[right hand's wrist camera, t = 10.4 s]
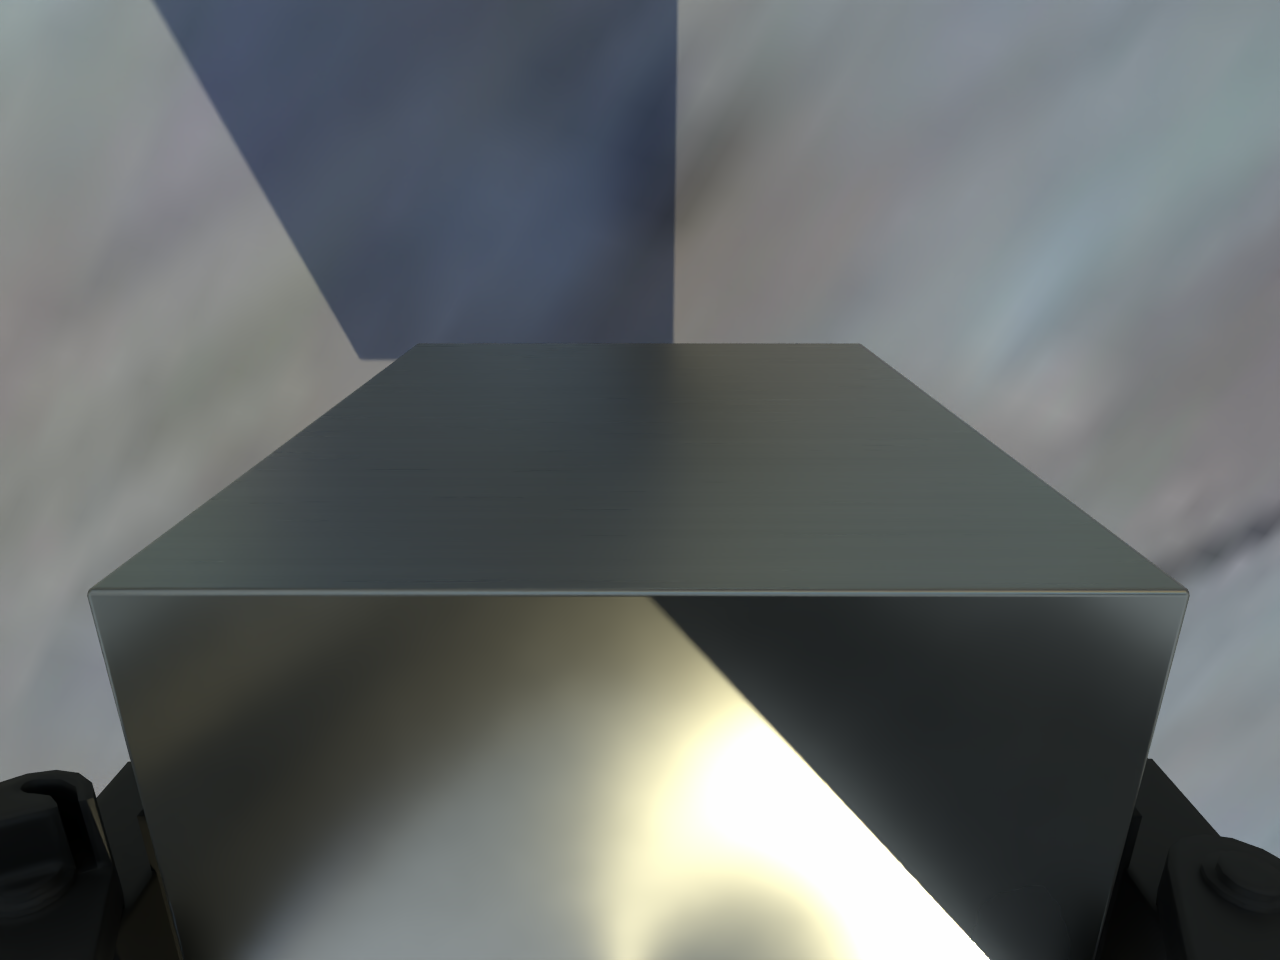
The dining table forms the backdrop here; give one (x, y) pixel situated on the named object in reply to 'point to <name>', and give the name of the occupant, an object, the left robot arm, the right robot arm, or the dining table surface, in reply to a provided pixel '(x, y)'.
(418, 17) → the dining table surface
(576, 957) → the block
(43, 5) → the dining table surface
